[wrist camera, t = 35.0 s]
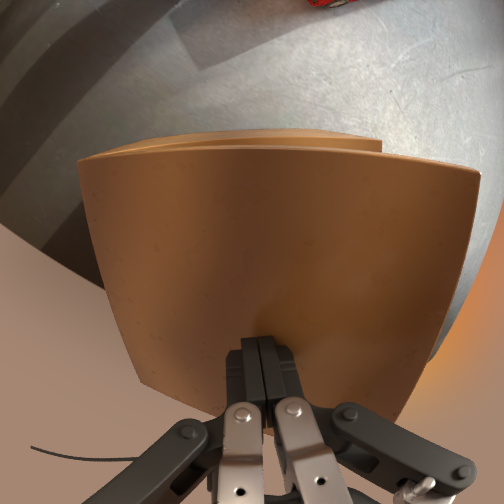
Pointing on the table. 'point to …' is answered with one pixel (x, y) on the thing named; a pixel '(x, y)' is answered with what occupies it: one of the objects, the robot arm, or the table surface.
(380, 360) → the chest lid
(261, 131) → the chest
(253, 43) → the table surface
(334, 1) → the toy car
